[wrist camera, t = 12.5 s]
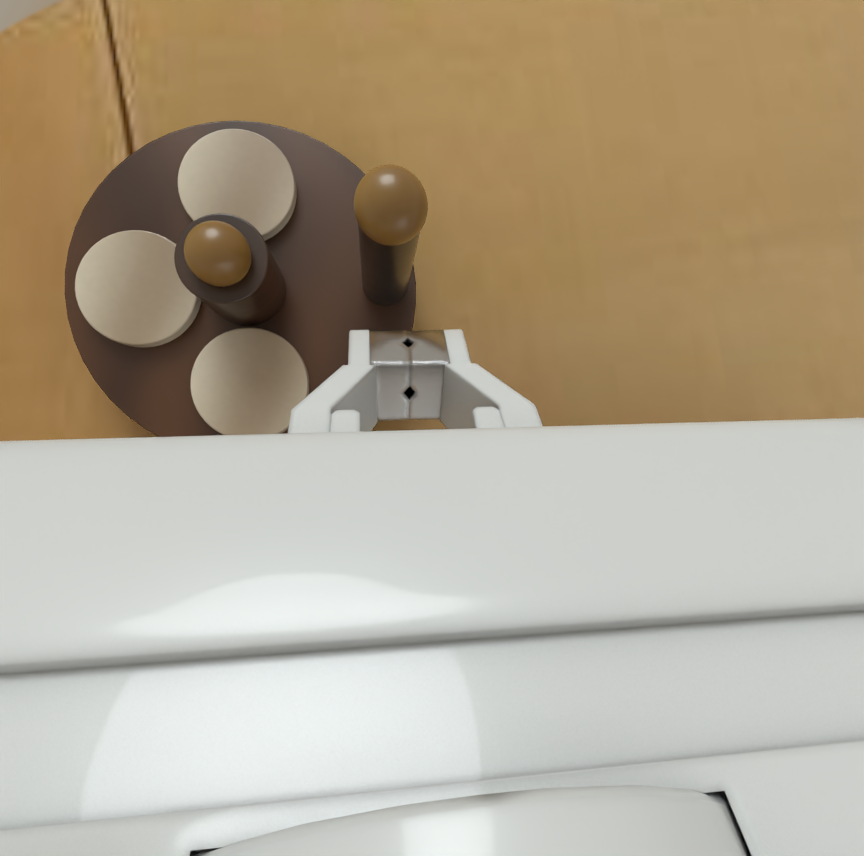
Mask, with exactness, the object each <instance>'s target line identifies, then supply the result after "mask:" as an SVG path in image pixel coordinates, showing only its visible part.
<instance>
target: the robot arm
mask: <svg viewBox="0 0 864 856" xmlns="http://www.w3.org/2000/svg"><path fill="white" fill-rule="evenodd" d="M401 419H440V421H441V422H442V423H443V424H444V425H445V427H446V428H447V429H434V430H397V431H371V430H372V429H373V428H374V426H375V425H376V423H377V421H382V420H401ZM0 856H864V418H838V419H804V420H768V421H730V422H693V423H655V424H617V425H580V426H544V427H543V425H542V423H541V420H540V417H539V414H538V412H537V409H536V406H535V404H533V403H532V402H530V401H529V400H527V399H526V398H525V397H523V396H522V395H520V394H519V393H518V392H516V391H515V390H513V389H512V388H510V387H509V386H508V385H506V384H505V383H503V382H502V381H500V380H499V379H498V378H496V377H495V376H493V375H492V374H491V373H489V372H488V371H486V370H485V369H483V368H482V367H481V366H479V365H478V364H476V363H475V364H471V360H470V356H469V353H468V349H467V345H466V341H465V337H464V334H463V330H461V329H449V330H423V331H407V330H370V339H369V330H350V332H349V353H348V365H343V366H341V367H340V368H339V369H338V370H337V371H336V372H335V373H333V374H332V375H331V376H330V377H329V378H328V379H326V380H325V381H324V382H323V383H322V384H321V385H320V386H318V387H317V388H316V389H315V390H314V391H313V392H311V393H310V394H309V395H308V396H307V397H306V398H305V399H303V400H302V401H301V402H300V403H299V404H298V405H296V406H295V407H294V408H293V409H292V410H291V416H290V423H289V429H288V433H286V434H249V435H212V436H175V437H138V438H101V439H64V440H26V441H0Z"/></svg>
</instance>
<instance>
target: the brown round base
mask: <svg viewBox="0 0 864 856" xmlns="http://www.w3.org/2000/svg"><path fill="white" fill-rule="evenodd" d="M427 210H428V202H427V196H426V193H425V190H424V188H423V186H422V184H421V182H420V181H419V180H418V178H417V177H416V176H415V175H414V174H412V173H411V172H410V171H408V170H407V169H405V168H403V167H400V166H396V165H383V166H379V167H377V168H374V169H372V170H371V171H369V172H368V173H367V174H366V175H365V174H364V173H363V172H362V171H361V170H360V169H359V168H358V167H357V166H356V165H354V164H353V163H352V162H351V161H349V160H348V159H347V158H346V157H344V156H343V155H342V154H340V153H339V152H337V151H335V150H334V149H332V148H331V147H329V146H327V145H326V144H324V143H322V142H320V141H318V140H316V139H314V138H311V137H309V136H307V135H305V134H303V133H300V132H297V131H294V130H290V129H287V128H284V127H281V126H276V125H271V124H265V123H260V122H247V121H224V122H211V123H206V124H201V125H195V126H190V127H187V128H184V129H181V130H178V131H175V132H172V133H169V134H167V135H165V136H163V137H161V138H158V139H156V140H154V141H152V142H150V143H148V144H147V145H145V146H144V147H142V148H141V149H139V150H137V151H136V152H134V153H133V154H131V155H130V156H129V157H127V158H126V159H125V160H124V161H123V162H122V163H120V164H119V165H118V166H117V167H116V168H115V169H114V170H112V171H111V173H110V174H109V175H108V176H107V177H106V178H105V179H104V181H103V182H102V183H101V184H100V185H99V186H98V187H97V189H96V190H95V192H94V194H93V195H92V197H91V198H90V200H89V201H88V203H87V204H86V206H85V207H84V210H83V212H82V214H81V216H80V218H79V220H78V222H77V225H76V227H75V230H74V233H73V236H72V239H71V243H70V246H69V250H68V256H67V263H66V269H65V299H66V307H67V315H68V320H69V323H70V327H71V331H72V334H73V338H74V341H75V343H76V345H77V348H78V350H79V352H80V355H81V357H82V359H83V361H84V363H85V365H86V366H87V368H88V370H89V371H90V373H91V375H92V376H93V378H94V380H95V381H96V382H97V384H98V385H99V386H100V387H101V389H102V390H103V391H104V392H105V394H106V395H107V396H108V397H109V399H110V400H111V401H112V402H113V403H115V404H116V405H117V406H118V407H119V408H120V409H121V410H122V411H123V412H124V413H125V414H126V415H127V416H128V417H130V418H131V419H133V420H134V421H135V422H137V423H138V424H139V425H141V426H142V427H144V428H145V429H146V430H148V431H150V432H152V433H154V434H155V435H157V436H159V437H175V436H212V435H249V434H286V433H288V429H289V423H290V416H291V410H292V409H293V408H294V407H295V406H296V405H298V404H299V403H300V402H301V401H302V400H303V399H305V398H306V397H307V396H308V395H309V394H310V393H311V392H313V391H314V390H315V389H316V388H317V387H318V386H320V385H321V384H322V383H323V382H324V381H325V380H326V379H328V378H329V377H330V376H331V375H332V374H333V373H335V372H336V371H337V370H338V369H339V368H340V367H341V366H343V365H348V353H349V332H350V330H369V339H370V330H407V331H412V327H413V321H414V314H415V306H416V282H415V274H414V267H413V261H414V256H415V252H416V247H417V243H418V238H419V234H420V230H421V229H422V227H423V225H424V223H425V220H426V217H427Z"/></svg>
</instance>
